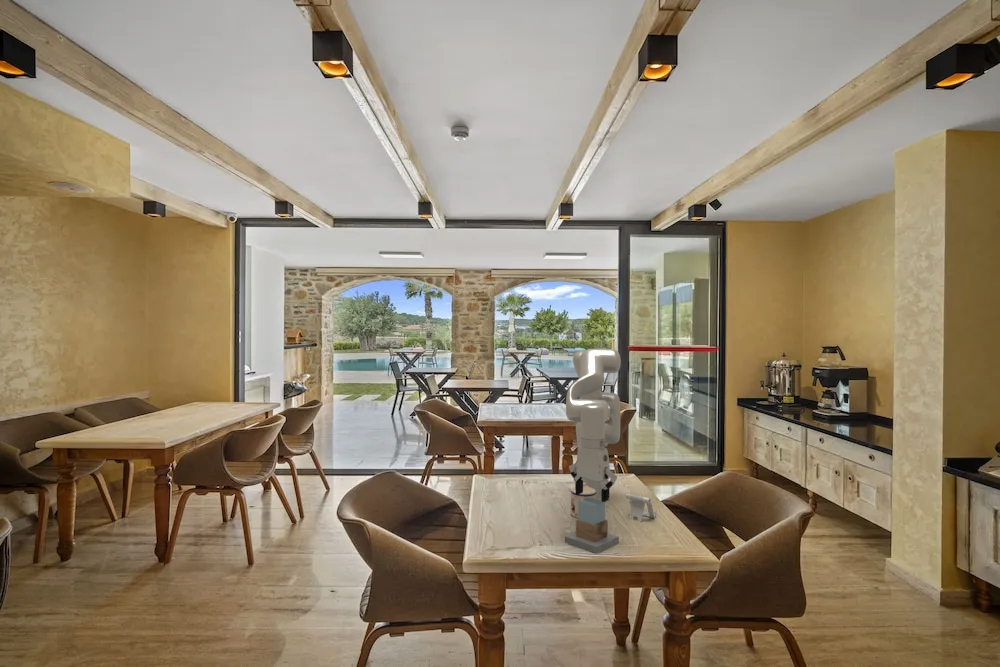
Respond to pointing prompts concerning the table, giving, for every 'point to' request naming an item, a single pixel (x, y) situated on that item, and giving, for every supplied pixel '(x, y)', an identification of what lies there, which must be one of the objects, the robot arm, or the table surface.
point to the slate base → (592, 546)
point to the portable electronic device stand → (640, 507)
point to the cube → (591, 510)
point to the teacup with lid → (580, 498)
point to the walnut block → (591, 530)
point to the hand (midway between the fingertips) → (591, 497)
